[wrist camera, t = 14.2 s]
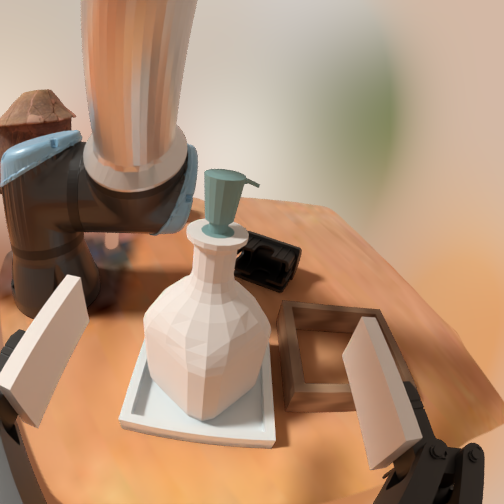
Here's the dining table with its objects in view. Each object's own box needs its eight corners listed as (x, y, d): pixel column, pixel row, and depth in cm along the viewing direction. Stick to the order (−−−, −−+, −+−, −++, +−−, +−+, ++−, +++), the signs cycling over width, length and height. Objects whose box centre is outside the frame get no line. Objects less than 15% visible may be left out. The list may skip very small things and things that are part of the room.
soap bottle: (263, 385, 32) (320, 185, 21) (200, 434, 25) (225, 207, 15) (204, 339, 37) (226, 153, 26) (141, 375, 30) (129, 163, 19)
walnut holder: (285, 411, 30) (294, 391, 28) (276, 321, 44) (282, 300, 42) (401, 407, 31) (416, 388, 30) (370, 328, 45) (379, 309, 43)
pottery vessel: (6, 232, 50) (-2, 95, 36) (-9, 202, 62) (-14, 98, 47) (97, 203, 70) (102, 85, 56) (62, 181, 81) (64, 88, 67)
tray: (122, 428, 24) (118, 419, 24) (152, 330, 38) (151, 319, 37) (271, 448, 26) (275, 440, 25) (265, 346, 39) (268, 335, 38)
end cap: (295, 275, 56) (304, 242, 53) (284, 295, 50) (293, 259, 47) (246, 258, 59) (251, 225, 56) (229, 274, 53) (234, 239, 50)
